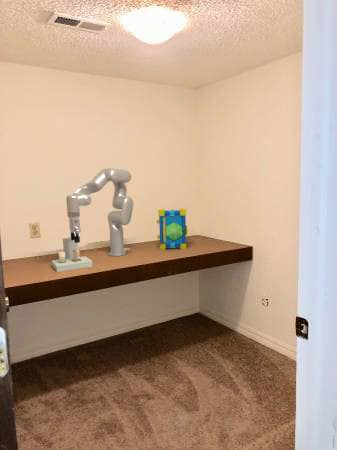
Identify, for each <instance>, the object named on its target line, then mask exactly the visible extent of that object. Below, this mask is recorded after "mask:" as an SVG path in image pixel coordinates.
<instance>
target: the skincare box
mask: <svg viewBox="0 0 337 450" xmlns="http://www.w3.org/2000/svg"><path fill="white" fill-rule="evenodd" d="M78 244H79V243H75V240H71V236H70V237H66V238H65V237H64V238H62V245H63V249H62V250H63V252H65V259H68V258H73V250H79V249H78V248H79V247H78Z"/></svg>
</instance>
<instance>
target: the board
mask: <svg viewBox="0 0 337 450" xmlns="http://www.w3.org/2000/svg"><path fill="white" fill-rule="evenodd" d="M57 253H58V259H55V260H53V259H52V260H51V267H52V268H54V270H55V271H56V272H57V273H59V272H65V271H66V272H67V271H72V270H79V269H84V268H85V269H87V268H93V260H91V259H90V258H89V257H87V256H86V255H85V256H80V261H76V262H73V258H68V259H65V252H64V251H58V252H57Z"/></svg>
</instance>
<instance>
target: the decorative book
mask: <svg viewBox="0 0 337 450" xmlns="http://www.w3.org/2000/svg"><path fill="white" fill-rule="evenodd" d="M186 216H187V210H186V207H185V208H183V207H182V208H179V210H178V209H168V210H165V208H158V218H159V219H157V220H156V224H158V225H159V234H158V235H157V236H156V239H157V240H159V251H163V250H164V251H165V250H166V249H178V248H180V250H187V242H186V241H187V236H188V225H186V223H187V222H186V221H187V220H186Z"/></svg>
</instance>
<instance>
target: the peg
mask: <svg viewBox="0 0 337 450" xmlns="http://www.w3.org/2000/svg"><path fill="white" fill-rule="evenodd" d="M80 255H81V254H80V250H79V249H78V250H73V262H76V261H80V257H81V256H80Z"/></svg>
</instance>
